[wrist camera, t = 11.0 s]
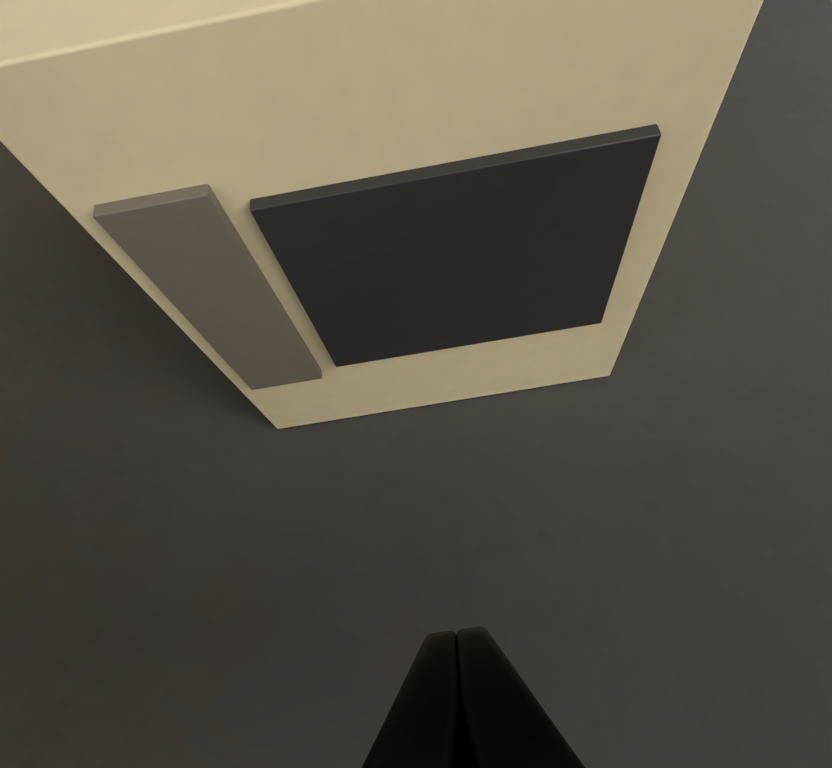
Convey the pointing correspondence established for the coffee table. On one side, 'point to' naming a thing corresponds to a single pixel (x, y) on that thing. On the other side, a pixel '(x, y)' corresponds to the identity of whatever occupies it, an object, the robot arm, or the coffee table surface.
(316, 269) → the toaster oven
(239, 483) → the coffee table surface
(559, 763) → the robot arm
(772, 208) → the coffee table surface
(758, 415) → the coffee table surface
